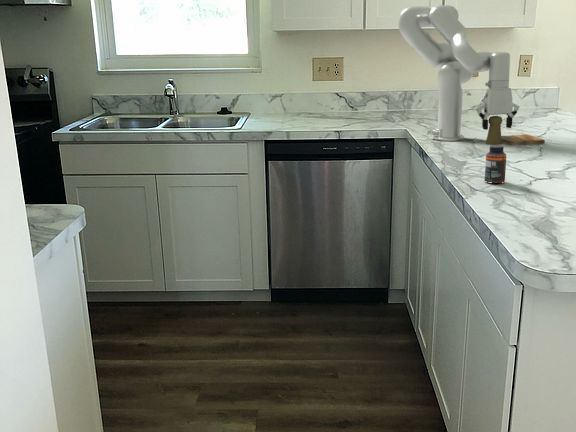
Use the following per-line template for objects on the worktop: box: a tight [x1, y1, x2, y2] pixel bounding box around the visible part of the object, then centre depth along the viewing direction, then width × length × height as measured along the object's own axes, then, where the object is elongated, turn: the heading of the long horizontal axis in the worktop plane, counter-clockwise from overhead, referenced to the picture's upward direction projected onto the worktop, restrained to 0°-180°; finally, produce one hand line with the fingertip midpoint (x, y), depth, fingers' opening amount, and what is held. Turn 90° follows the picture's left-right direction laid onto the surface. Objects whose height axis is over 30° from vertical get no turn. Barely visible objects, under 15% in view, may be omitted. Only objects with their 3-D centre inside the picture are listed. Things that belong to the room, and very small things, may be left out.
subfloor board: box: [501, 133, 546, 146], centre depth 253 cm, size 14×13×2 cm
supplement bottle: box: [484, 144, 507, 184], centre depth 190 cm, size 6×6×11 cm
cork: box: [485, 115, 503, 146], centre depth 250 cm, size 6×6×11 cm
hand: (497, 128), depth 249 cm, fingers open, 9 cm apart
